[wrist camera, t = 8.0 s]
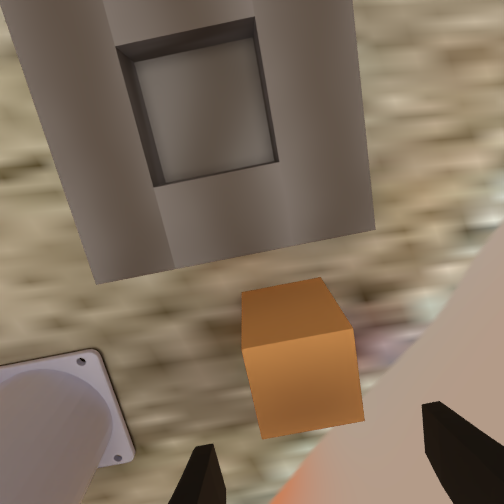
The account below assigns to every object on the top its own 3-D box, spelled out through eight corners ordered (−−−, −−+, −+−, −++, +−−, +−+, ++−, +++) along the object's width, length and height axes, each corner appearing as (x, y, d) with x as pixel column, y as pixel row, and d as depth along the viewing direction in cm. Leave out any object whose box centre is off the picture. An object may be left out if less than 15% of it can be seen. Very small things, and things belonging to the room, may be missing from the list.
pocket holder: (118, 264, 19) (96, 284, 16) (31, -10, 15) (-18, -47, 13) (354, 217, 19) (375, 229, 16) (320, -74, 15) (339, -128, 12)
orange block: (256, 360, 21) (262, 439, 15) (241, 292, 20) (241, 349, 14) (330, 346, 21) (364, 420, 15) (320, 276, 20) (353, 328, 14)
